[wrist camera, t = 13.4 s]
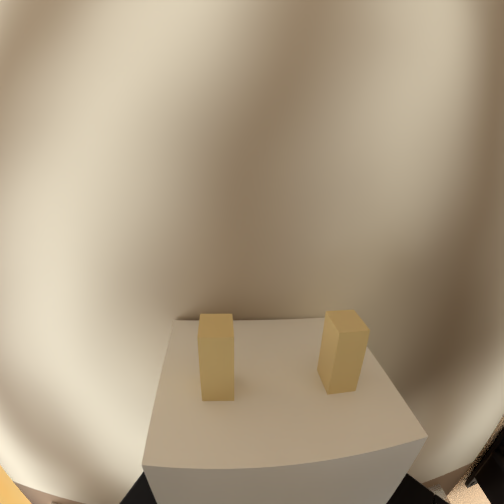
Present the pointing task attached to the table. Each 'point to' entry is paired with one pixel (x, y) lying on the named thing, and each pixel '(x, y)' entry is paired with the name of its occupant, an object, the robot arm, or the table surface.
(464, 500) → the table surface
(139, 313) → the base board
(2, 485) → the table surface
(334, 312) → the plug
